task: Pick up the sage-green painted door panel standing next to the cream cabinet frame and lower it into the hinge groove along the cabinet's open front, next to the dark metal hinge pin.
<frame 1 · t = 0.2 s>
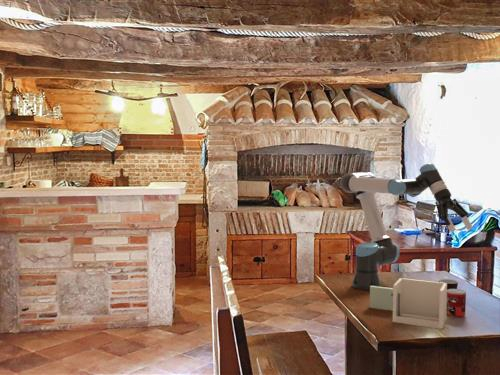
hand: (462, 230, 247), 36 cm above the table, tool tilted 35°, fingers open, 13 cm apart
door: (383, 308, 243), on the table
canned food: (455, 315, 233), on the table
cabinet: (419, 320, 226), on the table
coffee mug: (447, 301, 256), on the table
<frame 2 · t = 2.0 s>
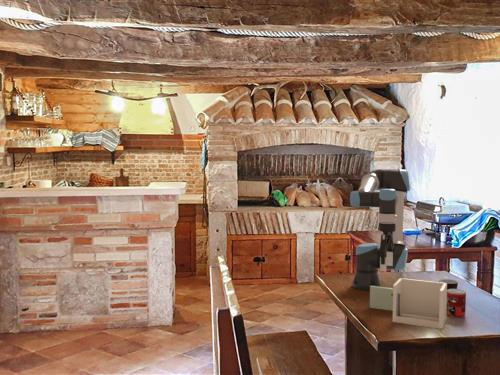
hand: (386, 268, 241), 19 cm above the table, tool pointing down, fingers open, 13 cm apart
nothing on the table moved.
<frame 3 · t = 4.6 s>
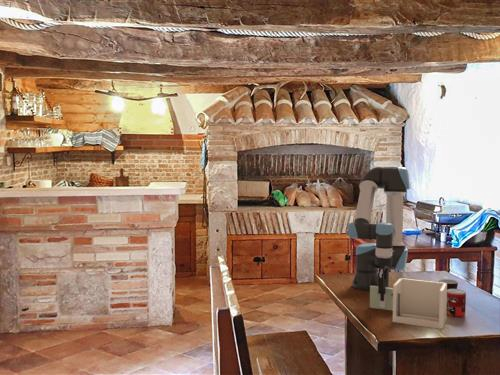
hand: (383, 306, 243), 1 cm above the table, tool pointing down, fingers closed on door, 2 cm apart
door: (383, 308, 243), on the table, touching gripper
everything else where it was.
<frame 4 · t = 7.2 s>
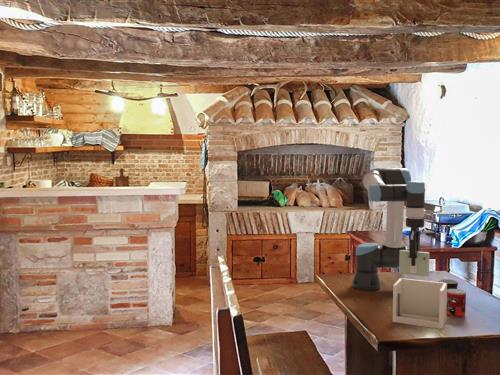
hand: (414, 272, 223), 21 cm above the table, tool pointing down, fingers closed on door, 2 cm apart
door: (413, 274, 224), point 20 cm above the table, touching gripper
everything else where it was.
when the fingers open (3 cm above the table, at t = 9.9 s): door drops 2 cm, resting in cabinet.
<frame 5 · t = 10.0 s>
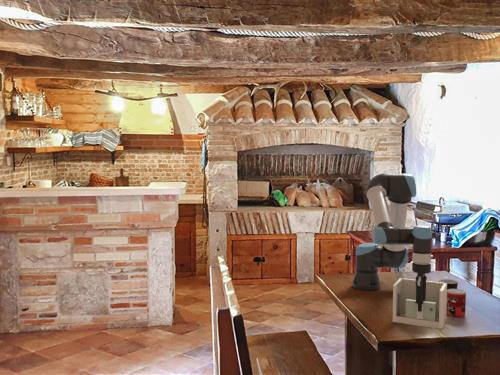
hand: (420, 317, 221), 3 cm above the table, tool pointing down, fingers open, 2 cm apart
door: (420, 324, 222), resting in cabinet
everything else where it was.
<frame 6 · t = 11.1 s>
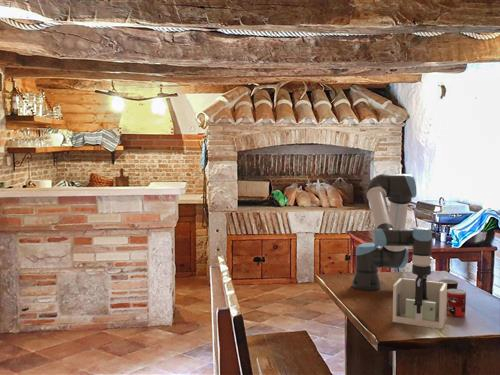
hand: (420, 317, 221), 3 cm above the table, tool pointing down, fingers open, 8 cm apart
nothing on the table moved.
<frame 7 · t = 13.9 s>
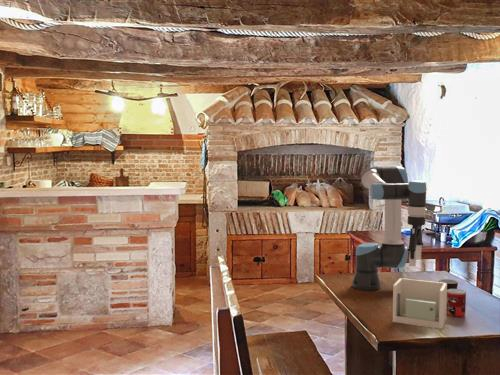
hand: (415, 262, 234), 23 cm above the table, tool pointing down, fingers open, 13 cm apart
nothing on the table moved.
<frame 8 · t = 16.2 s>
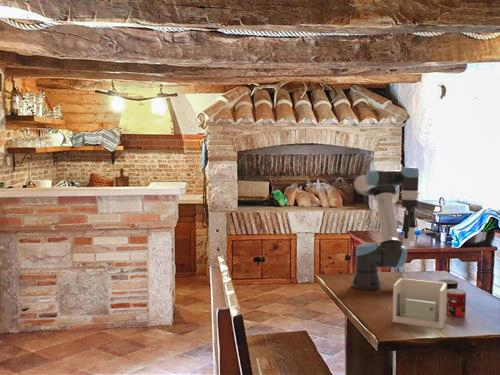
hand: (408, 243, 252), 29 cm above the table, tool pointing down, fingers open, 13 cm apart
nothing on the table moved.
at the end: door inside the target area on the cabinet (0.1 cm from its centre), point 0.0 cm above the cabinet's base; door tilted 0°; the gripper is holding nothing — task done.
